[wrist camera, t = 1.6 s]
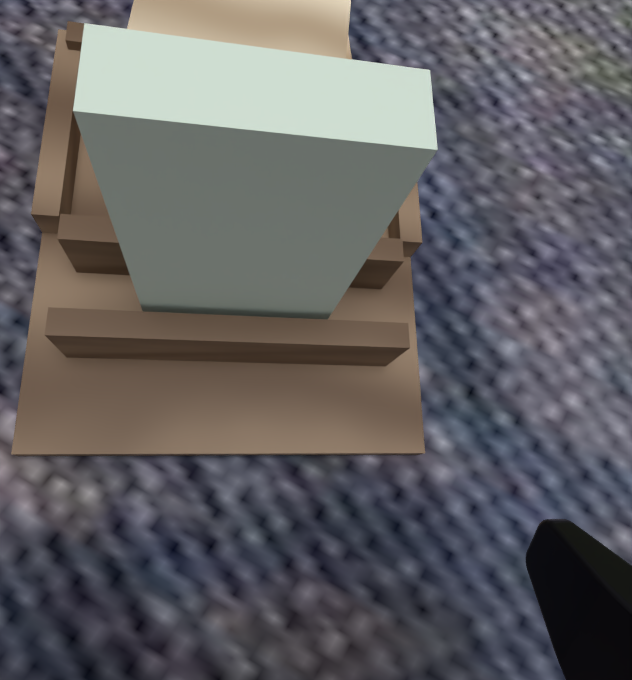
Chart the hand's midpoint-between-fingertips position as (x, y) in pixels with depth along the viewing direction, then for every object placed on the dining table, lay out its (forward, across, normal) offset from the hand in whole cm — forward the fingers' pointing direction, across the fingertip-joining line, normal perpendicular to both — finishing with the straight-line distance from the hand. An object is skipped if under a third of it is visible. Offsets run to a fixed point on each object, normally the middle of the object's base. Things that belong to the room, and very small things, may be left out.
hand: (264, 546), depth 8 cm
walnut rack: (+18, 0, +2) cm, 18 cm away
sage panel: (+15, 0, +4) cm, 16 cm away
